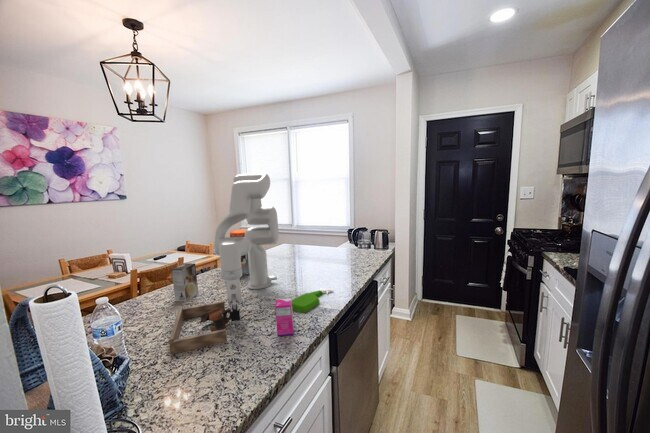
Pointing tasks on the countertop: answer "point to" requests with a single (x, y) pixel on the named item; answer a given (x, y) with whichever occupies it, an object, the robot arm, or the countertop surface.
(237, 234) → the supplement tub
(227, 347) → the countertop surface
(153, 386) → the countertop surface
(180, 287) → the coffee box
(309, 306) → the spray bottle
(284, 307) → the supplement box
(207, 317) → the pottery mug
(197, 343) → the wooden u-shaped frame
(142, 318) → the countertop surface
